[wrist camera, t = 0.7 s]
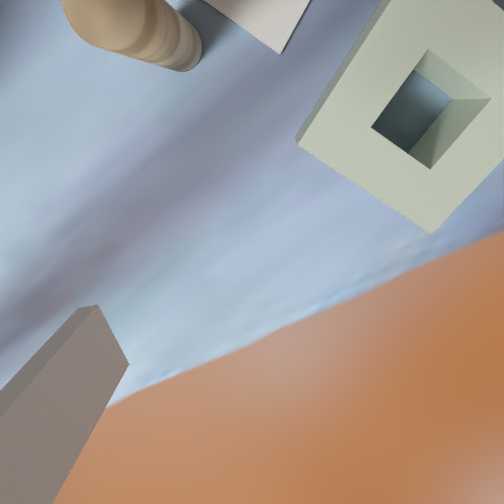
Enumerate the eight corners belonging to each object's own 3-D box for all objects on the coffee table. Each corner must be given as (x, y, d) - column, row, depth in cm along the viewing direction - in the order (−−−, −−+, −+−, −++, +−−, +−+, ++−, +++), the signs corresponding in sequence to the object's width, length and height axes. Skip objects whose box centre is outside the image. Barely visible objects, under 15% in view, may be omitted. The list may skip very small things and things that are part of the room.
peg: (151, 55, 29) (51, 18, 16) (169, 8, 27) (74, -72, 15) (190, 81, 30) (122, 64, 17) (210, 36, 28) (151, -17, 15)
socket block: (294, 137, 31) (297, 144, 26) (395, -22, 25) (426, -55, 20) (406, 212, 33) (431, 234, 28) (522, 82, 28) (581, 76, 22)
